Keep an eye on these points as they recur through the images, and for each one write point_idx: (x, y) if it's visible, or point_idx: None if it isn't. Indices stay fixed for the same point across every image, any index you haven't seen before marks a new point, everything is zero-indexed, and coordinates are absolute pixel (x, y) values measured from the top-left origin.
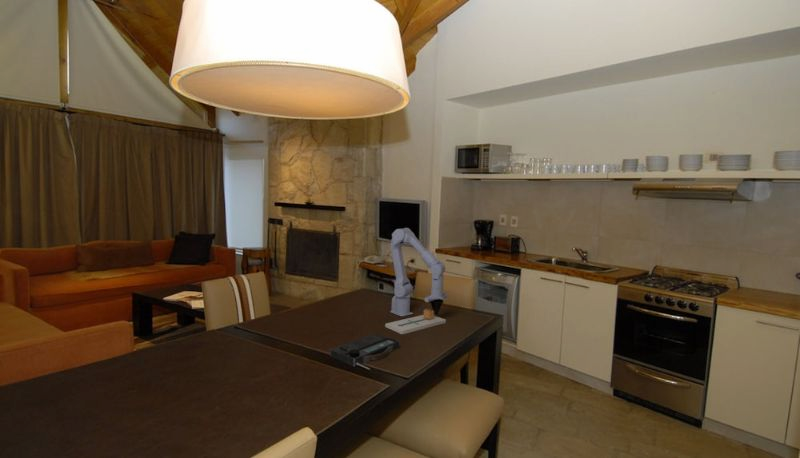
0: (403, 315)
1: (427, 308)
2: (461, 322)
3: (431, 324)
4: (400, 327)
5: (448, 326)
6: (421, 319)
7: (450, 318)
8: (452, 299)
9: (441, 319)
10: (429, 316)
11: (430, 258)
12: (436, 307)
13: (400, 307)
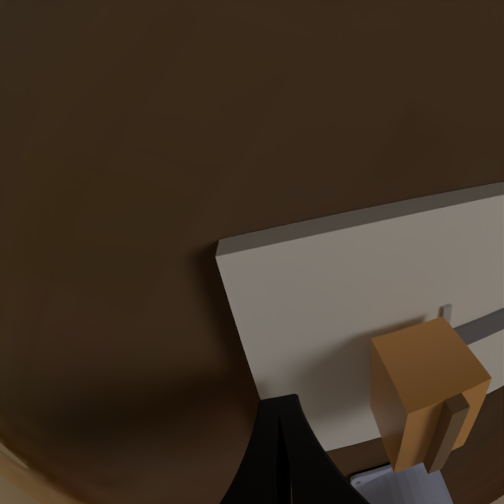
0: None
1: (435, 462)
2: (30, 185)
3: (479, 195)
4: None
5: (273, 93)
6: (476, 341)
7: (93, 341)
8: (29, 494)
9: (273, 289)
10: (456, 336)
11: None
12: (343, 477)
13: (449, 496)
